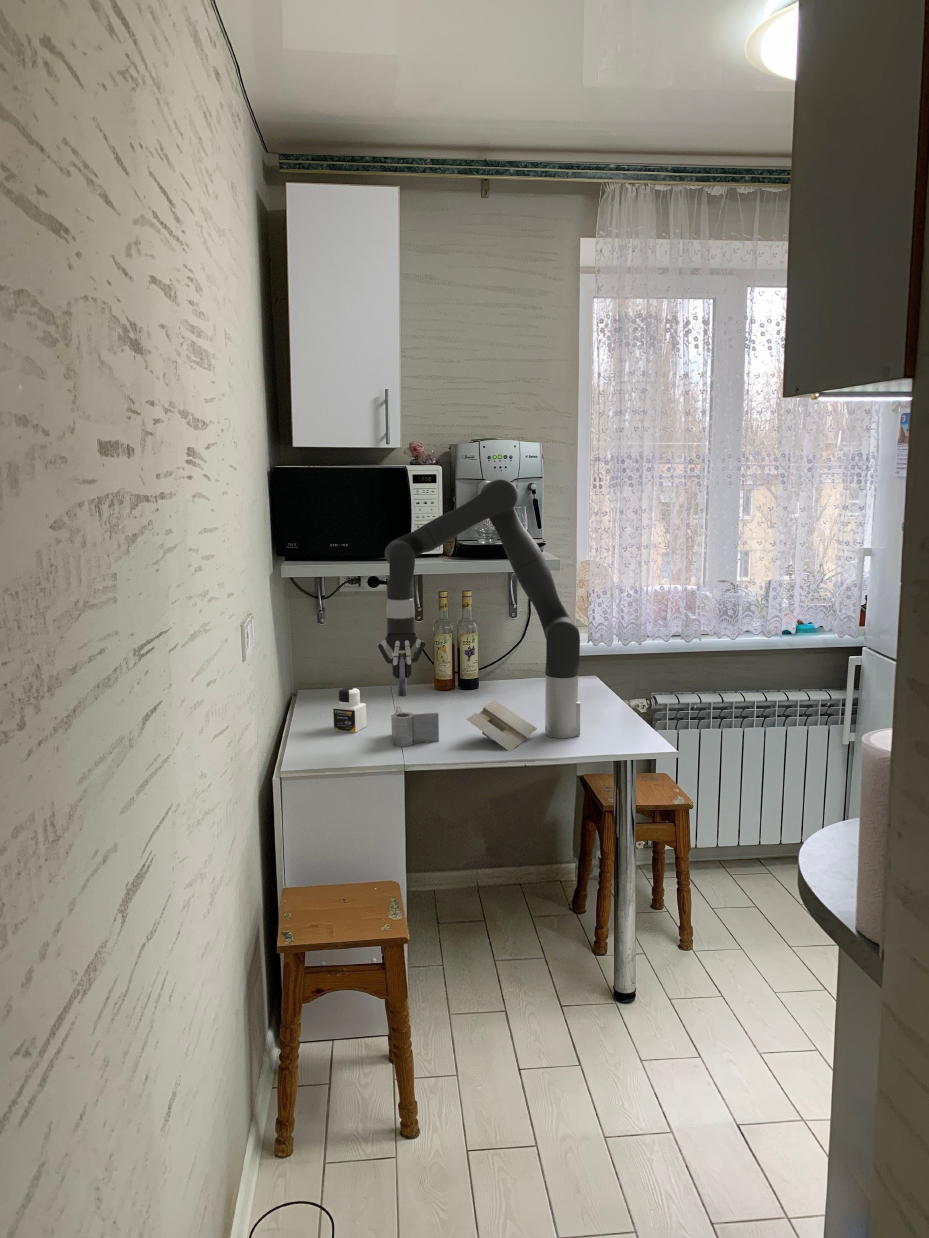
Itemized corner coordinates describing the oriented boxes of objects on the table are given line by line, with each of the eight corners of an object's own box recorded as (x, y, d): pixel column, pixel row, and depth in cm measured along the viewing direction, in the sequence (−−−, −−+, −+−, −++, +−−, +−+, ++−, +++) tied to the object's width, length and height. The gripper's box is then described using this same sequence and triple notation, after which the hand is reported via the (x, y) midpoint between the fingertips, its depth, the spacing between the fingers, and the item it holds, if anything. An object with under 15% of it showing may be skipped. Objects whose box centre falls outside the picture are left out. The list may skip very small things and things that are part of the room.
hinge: (432, 731, 264) (431, 704, 263) (440, 743, 252) (440, 715, 250) (387, 734, 261) (387, 706, 260) (393, 747, 249) (393, 718, 248)
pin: (407, 693, 252) (406, 648, 250) (409, 696, 249) (408, 650, 247) (395, 694, 252) (394, 648, 249) (396, 697, 248) (396, 651, 246)
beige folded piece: (522, 745, 263) (486, 708, 266) (539, 728, 258) (502, 690, 261) (493, 770, 250) (455, 730, 253) (510, 751, 245) (471, 711, 248)
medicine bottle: (333, 731, 265) (332, 690, 263) (345, 724, 272) (344, 685, 270) (355, 733, 263) (354, 692, 261) (366, 726, 269) (365, 687, 267)
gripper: (423, 611, 252) (424, 673, 254) (373, 613, 249) (374, 676, 252) (428, 616, 244) (429, 679, 247) (376, 618, 242) (378, 682, 244)
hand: (401, 677), depth 249 cm, fingers closed on pin, 2 cm apart
